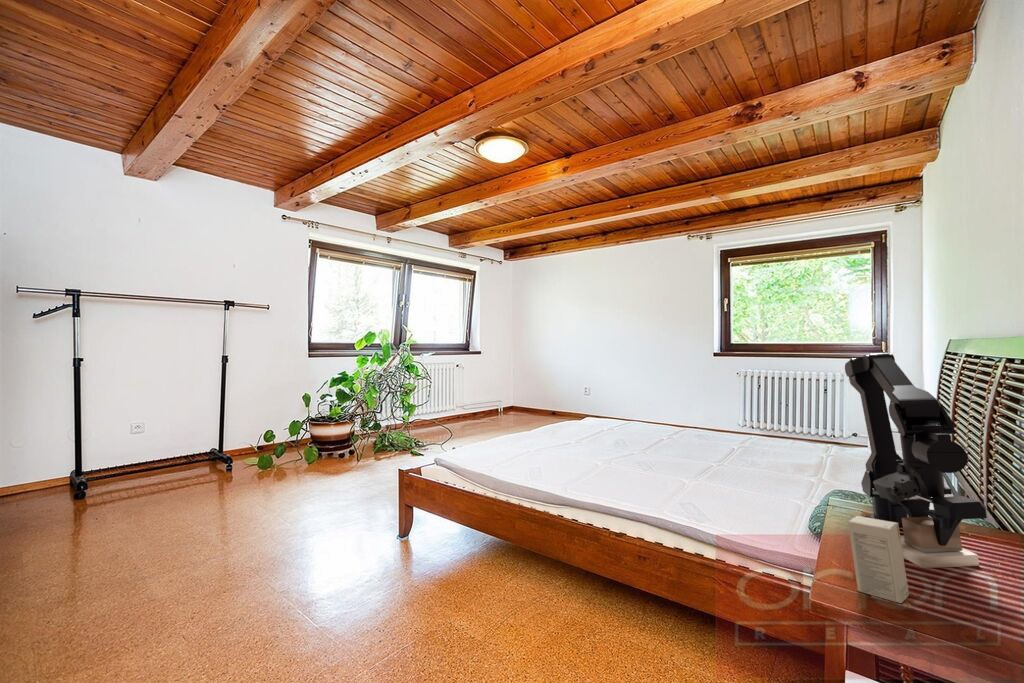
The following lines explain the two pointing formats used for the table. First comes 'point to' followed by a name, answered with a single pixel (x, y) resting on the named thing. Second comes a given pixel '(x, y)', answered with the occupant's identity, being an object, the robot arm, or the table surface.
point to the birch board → (938, 557)
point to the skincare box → (878, 558)
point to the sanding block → (927, 535)
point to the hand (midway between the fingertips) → (931, 540)
